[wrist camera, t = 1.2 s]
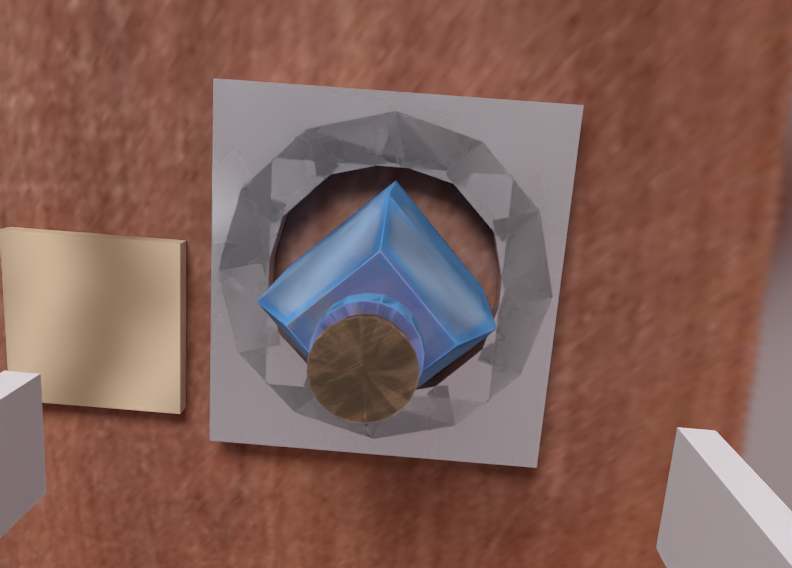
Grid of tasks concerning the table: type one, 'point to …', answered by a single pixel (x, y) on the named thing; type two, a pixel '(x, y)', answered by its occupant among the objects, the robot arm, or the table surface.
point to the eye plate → (424, 152)
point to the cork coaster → (97, 317)
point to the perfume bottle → (378, 308)
